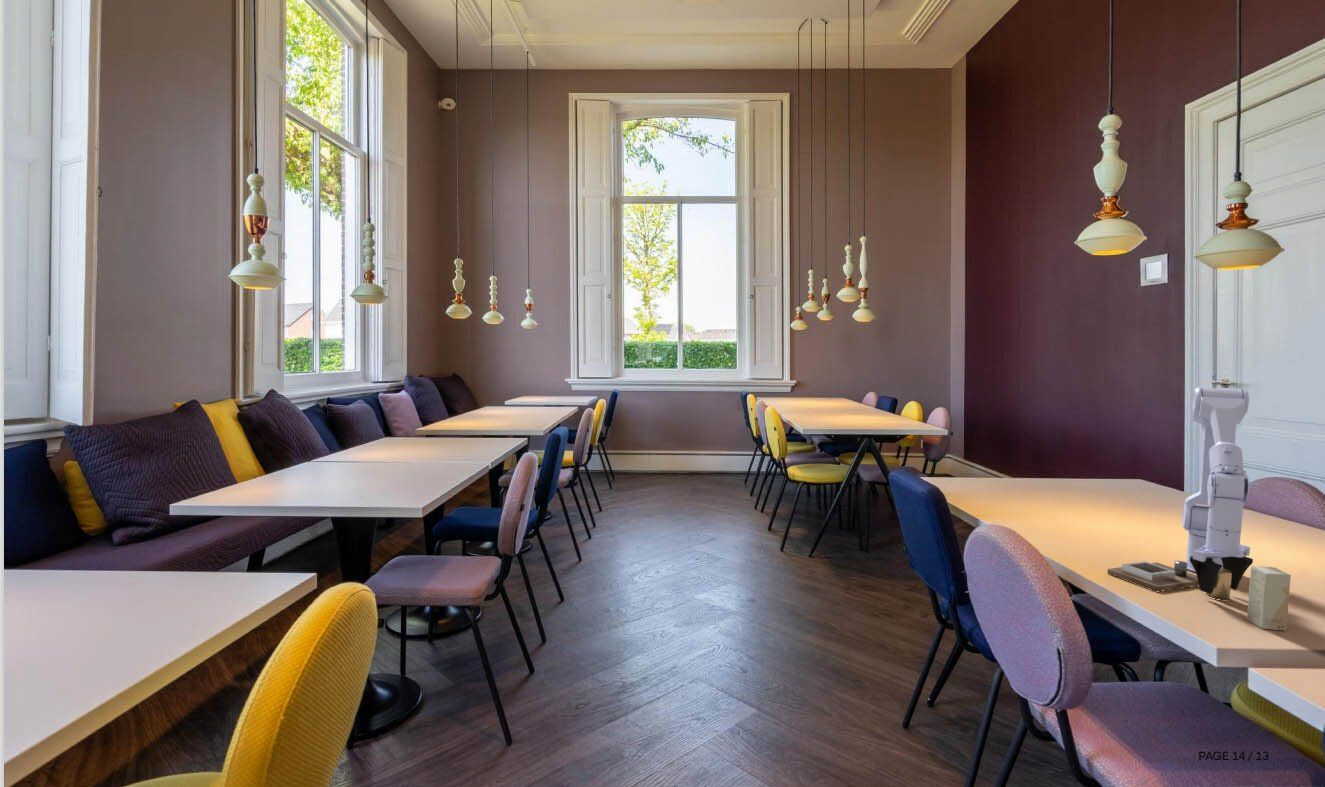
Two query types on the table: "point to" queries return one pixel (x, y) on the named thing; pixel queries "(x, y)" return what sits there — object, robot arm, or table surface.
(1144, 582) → the fitting board
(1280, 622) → the box
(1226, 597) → the cylinder
